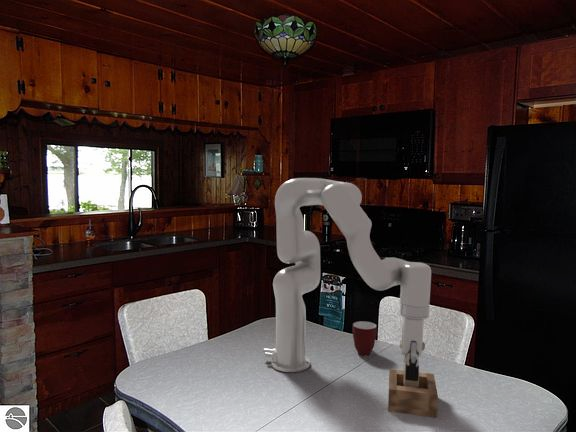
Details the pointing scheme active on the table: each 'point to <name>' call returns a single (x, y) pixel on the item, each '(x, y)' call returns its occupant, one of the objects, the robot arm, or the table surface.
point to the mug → (364, 337)
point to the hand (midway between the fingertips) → (411, 371)
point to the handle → (406, 382)
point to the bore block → (412, 395)
